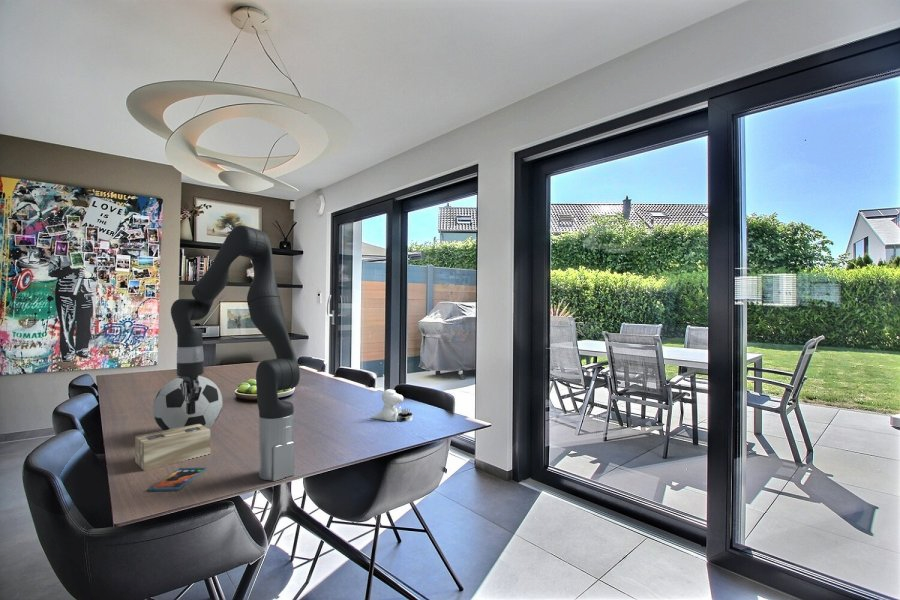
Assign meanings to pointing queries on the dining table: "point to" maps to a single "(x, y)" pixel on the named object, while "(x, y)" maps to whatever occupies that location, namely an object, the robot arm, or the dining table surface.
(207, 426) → the soccer ball
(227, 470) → the dining table surface
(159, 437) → the outer peg
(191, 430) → the inner peg
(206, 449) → the birch block
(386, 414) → the figurine
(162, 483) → the smartphone
